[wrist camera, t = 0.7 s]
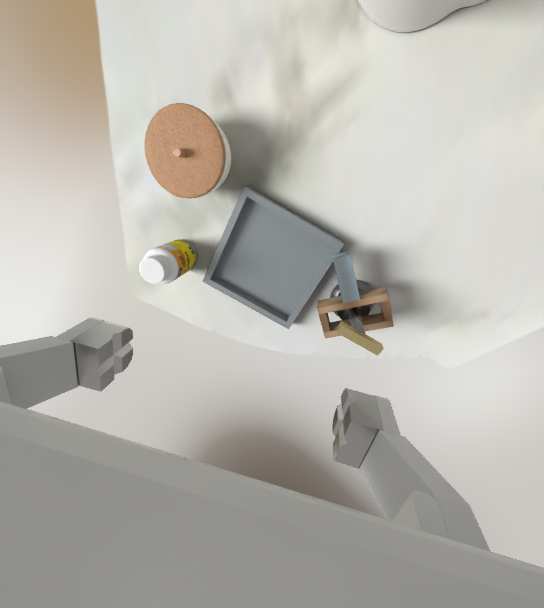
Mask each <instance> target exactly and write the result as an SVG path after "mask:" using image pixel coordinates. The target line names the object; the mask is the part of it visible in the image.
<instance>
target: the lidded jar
mask: <svg viewBox="0 0 544 608" xmlns="http://www.w3.org/2000/svg"><path fill="white" fill-rule="evenodd" d="M145 155H146V159H147V163H148V166H149V169H150V171H151V173H152V174H153V176H154V178H155V179H156V180H157V182H158V183H159V184H160V185H161V186H162V187H163V188H164V189H165V190H167V191H168V192H170V193H171V194H173V195H176V196H178V197H182V198H197V197H200V196H203V195H207V194H209V193H211V192H213V191H215V190H216V189H218V188H219V187H220V186H221V185H222V184H223V182H224V181H225V179H226V178H227V176H228V174H229V171H230V167H231V150H230V146H229V142H228V140H227V138H226V135H225V134H224V132H223V130H222V129H221V128H220V126H219V125H218V124H217V123H216V122H215V121H214V120H213V119H212V118H211V117H209V116H208V115H207V114H206V113H205V112H203V111H201V110H200V109H198V108H196V107H194V106H192V105H189V104H184V103H176V104H170V105H168V106H165V107H164V108H162V109H161V110H159V111H158V112H157V113H156V114H155V115H154V117H153V118H152V120H151V121H150V123H149V125H148V128H147V131H146V136H145Z"/></svg>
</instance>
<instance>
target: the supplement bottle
mask: <svg viewBox="0 0 544 608" xmlns="http://www.w3.org/2000/svg"><path fill="white" fill-rule="evenodd" d="M196 262H197V253H196V250H195V249H194V247H193V246H192V245H191V244H190V243H189V242H187V241H185V240H175V241H172V242H169V243H167V244H164V245H161V246H159V247H156V248H154V249H151V250H150V251H148V252H147V253H146V255H145V256H144V259H143V260H142V261H141V262H140V265H139V270H140V274H141V276H142V277H143V278H144V279H145V280H146V281H147V282H149V283H152V284H158V283H160V284H167V283H170V282H172V281H174V280H175V279H177V278H178V277H180V276H181V275H183V274H184V273H186V272H188V271H189V270H191V269H192V268H193V267H194V266H195V264H196Z"/></svg>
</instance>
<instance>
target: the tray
mask: <svg viewBox="0 0 544 608" xmlns="http://www.w3.org/2000/svg"><path fill="white" fill-rule="evenodd" d="M343 245H344V242H343V241H342V240H340V239H338V238H337V237H335V236H333V235H331V234H330V233H328V232H326V231H325V230H323V229H321V228H319V227H318V226H316V225H314V224H312V223H311V222H309V221H307V220H306V219H304V218H302V217H300V216H299V215H297V214H295V213H293V212H292V211H290V210H288V209H287V208H285V207H283V206H281V205H280V204H278V203H276V202H274V201H273V200H271V199H269V198H268V197H266V196H264V195H262V194H261V193H259V192H257V191H255V190H254V189H252V188H250V187H249V186H244V187H243V190H242V192H241V194H240V196H239V199H238V201H237V203H236V206H235V208H234V210H233V213H232V215H231V217H230V219H229V222H228V224H227V226H226V229H225V231H224V233H223V236H222V238H221V240H220V242H219V245H218V247H217V249H216V252H215V254H214V256H213V259H212V261H211V263H210V266H209V268H208V270H207V272H206V275H205V277H204V279H203V282H205V283H206V284H208V285H210V286H212V287H214V288H215V289H217V290H219V291H221V292H223V293H224V294H226V295H228V296H230V297H232V298H233V299H235V300H237V301H239V302H241V303H242V304H244V305H246V306H248V307H250V308H251V309H253V310H255V311H257V312H259V313H260V314H262V315H264V316H266V317H268V318H269V319H271V320H273V321H275V322H277V323H278V324H280V325H282V326H284V327H286V328H287V329H289V328H290V327H291V325H292V323H293V322H294V320H295V319H296V317H297V316H298V314H299V313H300V311H301V310H302V308H303V307H304V305H305V304H306V302H307V301H308V299H309V297H310V296H311V294H312V293H313V291H314V290H315V288H316V287H317V285H318V284H319V282H320V281H321V279H322V278H323V276H324V275H325V273H326V271H327V270H328V268H329V267H330V265H331V264H332V262H333V254H337V253H339V252H340V250H341V249H342V247H343Z"/></svg>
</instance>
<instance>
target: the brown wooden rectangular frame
mask: <svg viewBox="0 0 544 608" xmlns="http://www.w3.org/2000/svg"><path fill="white" fill-rule="evenodd" d="M333 262H334V266H335V270H336V275H337V279H338V283H339V288H340V292H341V296H337V297H332V298H328V299H323V300H318V304H317V309H318V313H319V317H320V321H321V324H322V328H323V332H324V336H325V338H330V337H336V336H341V335H340V334H338V333H337V329H336V328H337V327H338V325H339V324H340V323H341V321H342V322H344V323H346V324H348V325H350V326H351V324H350V319H347V320H341V321H336V322H331V323H330V321H329V317H328V312H333V311H338V310H343V309H348V308H353V307H358V306H363V305H368V304H373V303H378V302H380V307H381V312H382V313H378V314H373V315H368V316H362V317H361V320H362V323H363V327H364V331H370V330H376V329H381V328H387V327H393V326H394V325H393V320H392V314H391V308H390V302H389V296H388V293H387V291H386V289H385V287H379V288H375V289H370V290H365V291H361V292H358V287H357V282H356V278H355V273H354V268H353V263H352V258H351V254H350V251H345V252H341V253H337V254H333Z"/></svg>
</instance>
